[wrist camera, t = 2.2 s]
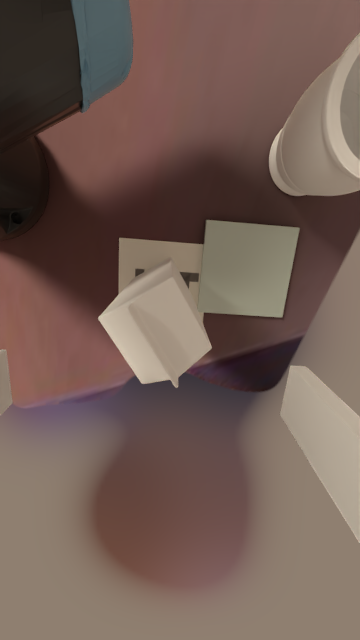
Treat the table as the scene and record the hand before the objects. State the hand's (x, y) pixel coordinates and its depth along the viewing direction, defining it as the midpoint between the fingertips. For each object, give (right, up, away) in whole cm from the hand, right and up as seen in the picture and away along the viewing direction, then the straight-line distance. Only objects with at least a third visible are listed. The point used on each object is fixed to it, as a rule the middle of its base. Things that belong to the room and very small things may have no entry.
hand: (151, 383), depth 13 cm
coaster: (+10, +10, +24) cm, 28 cm away
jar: (+16, +23, +21) cm, 35 cm away
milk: (-1, +8, +25) cm, 26 cm away
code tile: (-1, +8, +24) cm, 26 cm away
